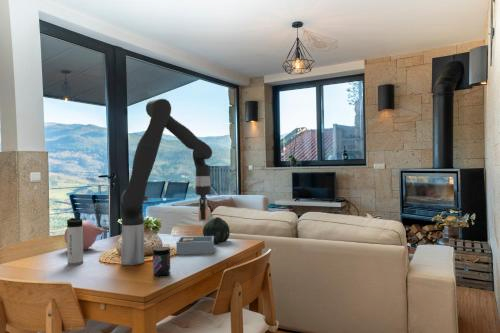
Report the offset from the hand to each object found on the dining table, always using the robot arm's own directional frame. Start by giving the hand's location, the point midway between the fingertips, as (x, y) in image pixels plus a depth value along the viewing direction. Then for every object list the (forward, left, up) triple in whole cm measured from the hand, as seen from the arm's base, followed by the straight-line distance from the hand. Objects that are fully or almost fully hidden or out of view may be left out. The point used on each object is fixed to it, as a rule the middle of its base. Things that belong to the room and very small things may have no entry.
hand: (203, 218), depth 183 cm
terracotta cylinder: (0, 0, -1) cm, 1 cm away
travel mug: (-56, -18, -16) cm, 61 cm away
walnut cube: (-8, 0, -15) cm, 17 cm away
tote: (-4, 0, -16) cm, 17 cm away
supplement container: (-14, -40, -16) cm, 45 cm away
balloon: (-62, +10, -16) cm, 65 cm away
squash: (+6, +20, -16) cm, 27 cm away
